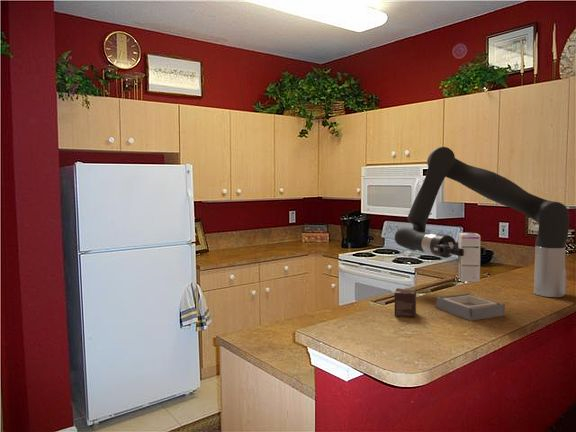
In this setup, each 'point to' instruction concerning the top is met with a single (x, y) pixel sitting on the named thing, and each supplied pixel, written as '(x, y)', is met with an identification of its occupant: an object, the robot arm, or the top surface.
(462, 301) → the tray
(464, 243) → the syrup box
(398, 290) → the box
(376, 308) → the top surface
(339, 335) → the top surface
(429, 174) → the robot arm
